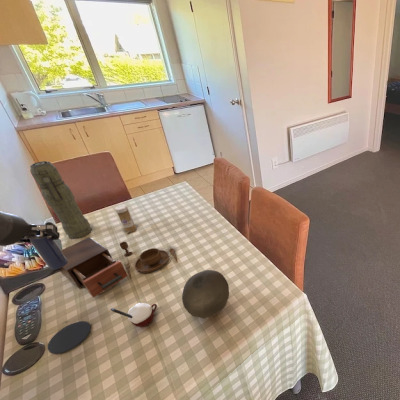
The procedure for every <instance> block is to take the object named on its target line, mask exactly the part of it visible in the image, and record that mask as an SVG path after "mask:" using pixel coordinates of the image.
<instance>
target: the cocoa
mask: <svg viewBox="0 0 400 400" xmlns="http://www.w3.org/2000/svg"><path fill="white" fill-rule="evenodd" d="M157 308H158V305H157V304H156V303H153V304H151V305H150V304H149V303H147V302H138V303H136V304H134V305H133V306H132V307H131V308H129V309H128V311H127V312H124V311H122V310H119V309H116V308H113V307H111V308H110V311H112V313H116V314H118V315H121V316H124V317H127V319H128V321H129V322H130V323H131V324H132V325H133V326H135V327H137V328H145V327H147V326H148V325H150V324H151V323H152V321H153V320H154V318H155V313H156V310H157Z"/></svg>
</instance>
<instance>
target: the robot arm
mask: <svg viewBox="0 0 400 400" xmlns="http://www.w3.org/2000/svg"><path fill="white" fill-rule="evenodd" d="M39 225H40V224H35V223H34V224H33V223H28V222H27V221H26V220H25V219H24V218H23V217H21V216H19V215H16V214H13V213H8V212H5V211H1V210H0V247H7V246H12V245H15V244H23V243H26V244H27V243H28V244H32V243H31V242H30V241H29V239H41V238H48V239H53V240H55V241H56V240H57V241H58V240H60V235H61V233H60V232H59V230H58V225H57V226H56V224H54V223H53V222H51V221H47V222H44V224H43V225H44V226H39ZM43 231H44V233H45V235H44V234H43Z"/></svg>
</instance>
